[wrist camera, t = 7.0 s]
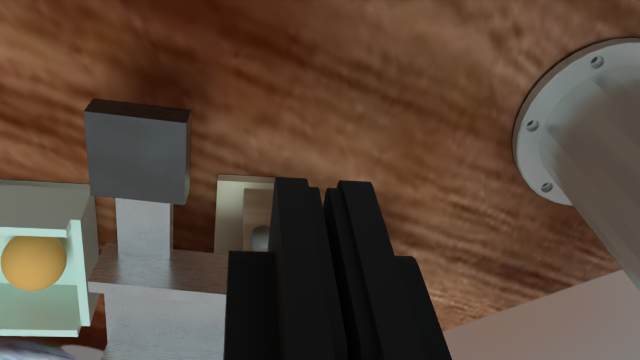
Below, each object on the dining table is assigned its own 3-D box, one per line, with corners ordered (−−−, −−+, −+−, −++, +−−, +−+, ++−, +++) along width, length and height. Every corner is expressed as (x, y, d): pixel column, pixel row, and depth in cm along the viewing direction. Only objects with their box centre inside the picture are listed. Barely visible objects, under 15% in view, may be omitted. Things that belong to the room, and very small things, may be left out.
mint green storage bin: (93, 184, 41) (59, 274, 33) (101, 286, 46) (73, 385, 38) (-55, 176, 39) (-126, 269, 32) (-31, 282, 44) (-87, 384, 37)
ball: (51, 212, 42) (73, 244, 39) (56, 256, 44) (78, 289, 42) (-12, 229, 40) (7, 264, 37) (-3, 275, 42) (16, 311, 39)
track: (446, 120, 35) (466, 170, 30) (385, 342, 44) (393, 406, 40) (107, 79, 33) (73, 125, 29) (120, 317, 43) (96, 381, 38)
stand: (306, 173, 42) (319, 255, 35) (286, 309, 49) (293, 401, 42) (218, 167, 41) (212, 251, 34) (210, 307, 48) (204, 401, 41)
